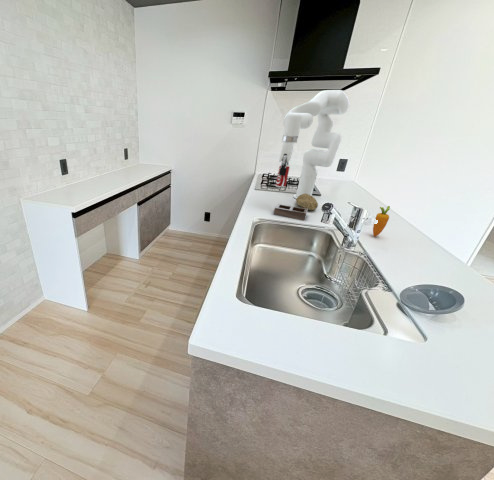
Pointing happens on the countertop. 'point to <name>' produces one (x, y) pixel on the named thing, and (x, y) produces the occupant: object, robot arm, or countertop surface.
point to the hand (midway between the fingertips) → (283, 174)
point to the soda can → (282, 178)
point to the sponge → (307, 201)
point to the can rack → (291, 211)
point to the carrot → (381, 221)
